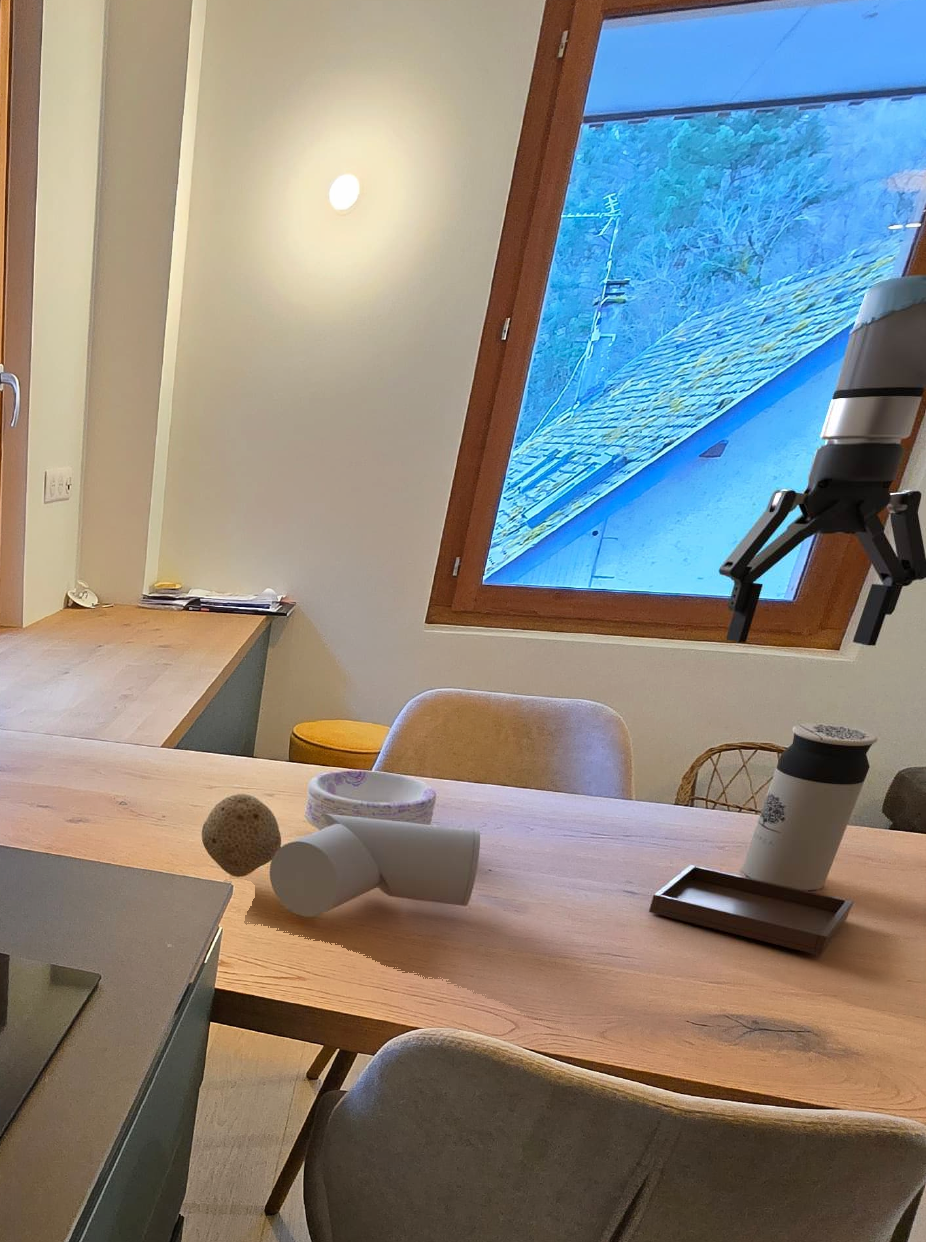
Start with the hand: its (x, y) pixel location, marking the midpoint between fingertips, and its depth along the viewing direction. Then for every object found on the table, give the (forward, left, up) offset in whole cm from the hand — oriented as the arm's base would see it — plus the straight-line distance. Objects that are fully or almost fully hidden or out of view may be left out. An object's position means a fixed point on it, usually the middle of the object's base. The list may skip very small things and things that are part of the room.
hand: (799, 642), depth 121 cm
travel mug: (-6, +5, -27) cm, 28 cm away
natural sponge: (+39, +52, -27) cm, 70 cm away
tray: (-6, +21, -27) cm, 35 cm away
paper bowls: (+34, +30, -27) cm, 53 cm away
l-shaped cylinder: (+23, +48, -26) cm, 59 cm away
